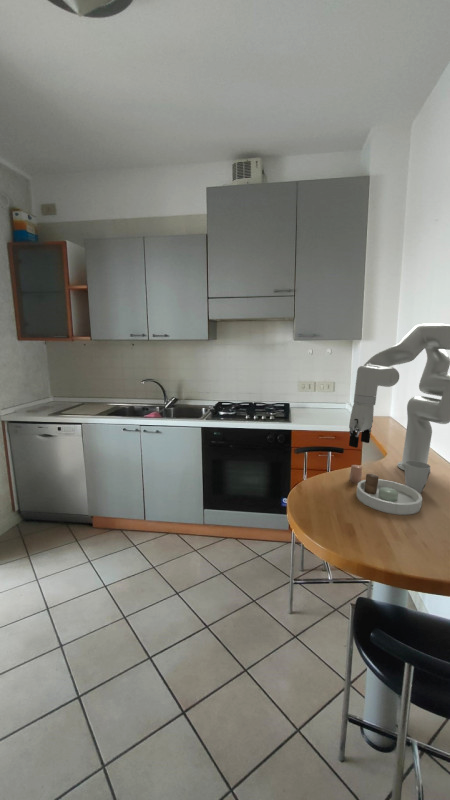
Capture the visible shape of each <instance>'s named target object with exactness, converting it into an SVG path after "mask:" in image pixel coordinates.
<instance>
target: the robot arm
mask: <svg viewBox="0 0 450 800" xmlns="http://www.w3.org/2000/svg"><path fill="white" fill-rule="evenodd" d="M423 350H425V352H426V363H425V366H424V368H423V372H422V373H421V374H422V375H421V377H420V380H419V382H418V389H419V391H420V392H421V393H423V394H427V395H431V396H437V397H441V399H440V398H434V397H430V396H423V395H416V396H412V397H411V398H410V399H409V400H408V401H407V405H406V415H407V416H406V417H407V424H406V431H405V438H404V445H403V451H402V452H403V453H402V459H401V461H399V462H397V467H398V468H399V469H401V470H403V471H404V472H405V462H406V461H419V462H423V463H426V464H428V463H429V462H428V461H429V454H430V447H431V442H432V435H433V429H432V425H431V423H430V422H432V423H436V424H440V425H447V424H449V423H450V373H448V372H449V370H450V356H449V354H448V353H447V351H448V350H449V351H450V324H445V323H422V324H421V323H420V324H417V325H415V326H414V327H413V328H412V329H411V330H410V331H409V332H408V333H406V335H404V337H403V338H402V339H400V341H398V343H397V344H396V345H393V346H391V347H388V348H386V349H384V350H382V351H379V352H378V353H376V354H374V355H373V356H372V357H370V358H369V359H368V360H367V361H366V362H365V363H364V364H363V365H361V366H358V368H357V371H356V380H355V388H354V396H353V405H352V408H351V414H350V419H349V425H348V428H349V431H348V433H349V441H348V442H349V443H348V446H349V447H352V448H356V449H357V448H358V447H359V442H362V443H366V444H369V443H370V440H371V433H372V428H373V423H374V413H375V412H374V410H375V409H374V407H375V406H376V401H377V393H378V387H386V388H390V387H393V386H395V385H397V383H398V382H399V380H400V372H399V371H398V369H396V368H395V367H392V366H398V365H403V364H406V363H410V362H413V361H414V360H415V359H417V357H418V356H419V355H420V353H422V352H423ZM446 350H447V351H446ZM360 433H361V437H359V435H360ZM359 438H360V441H359ZM430 473H431V471H430V472H429V474H430Z"/></svg>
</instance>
